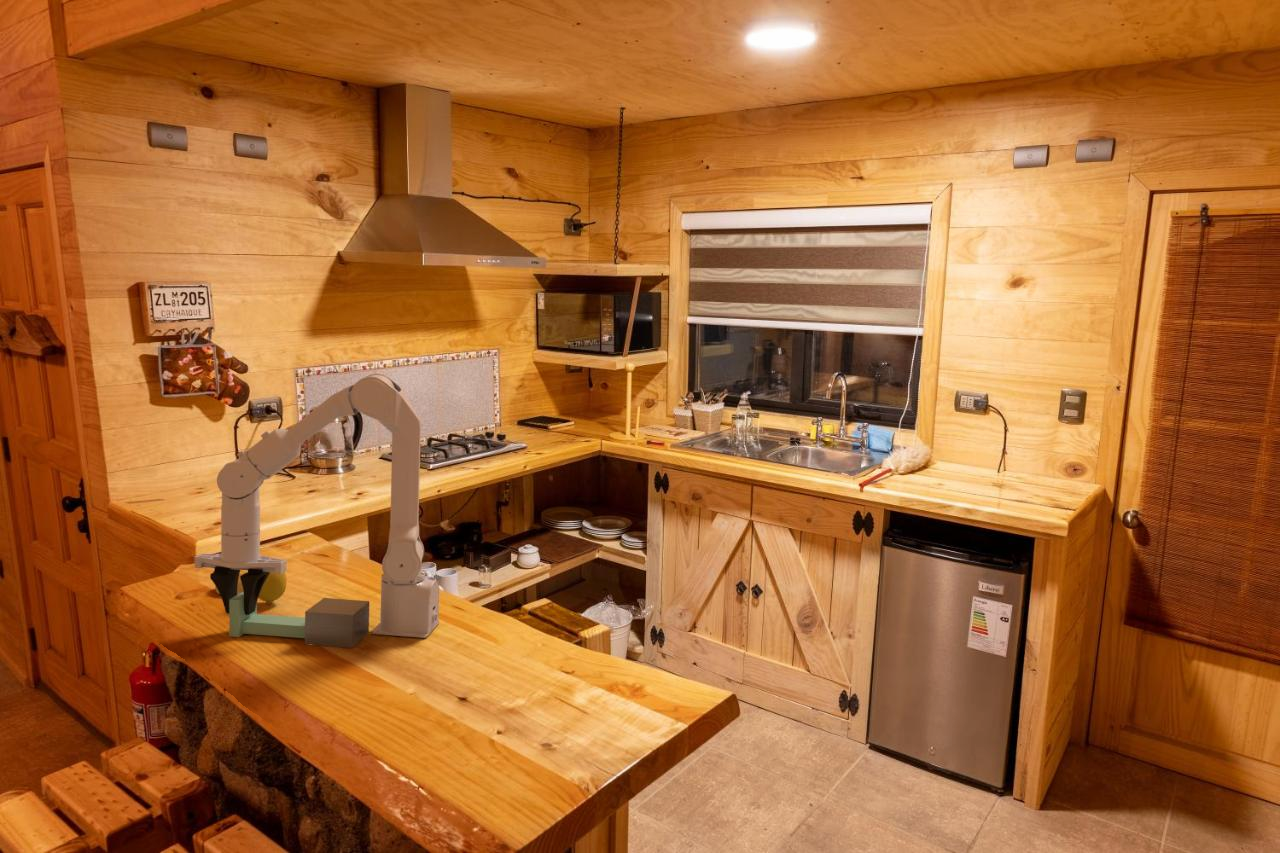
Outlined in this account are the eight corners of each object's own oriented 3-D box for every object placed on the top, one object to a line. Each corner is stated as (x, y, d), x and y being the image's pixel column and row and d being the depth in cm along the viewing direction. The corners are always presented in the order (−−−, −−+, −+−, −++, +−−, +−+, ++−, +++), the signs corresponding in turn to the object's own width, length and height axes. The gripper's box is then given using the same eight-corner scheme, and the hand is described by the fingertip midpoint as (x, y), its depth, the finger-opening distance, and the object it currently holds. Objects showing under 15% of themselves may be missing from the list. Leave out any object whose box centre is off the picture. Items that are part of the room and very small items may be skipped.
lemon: (292, 600, 151) (292, 558, 150) (276, 610, 146) (276, 566, 145) (263, 597, 152) (264, 556, 151) (246, 607, 146) (247, 564, 145)
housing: (368, 632, 138) (369, 601, 137) (352, 648, 131) (352, 615, 130) (323, 629, 138) (324, 597, 138) (304, 644, 131) (305, 611, 131)
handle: (320, 629, 137) (320, 594, 137) (305, 642, 132) (305, 605, 131) (241, 623, 138) (241, 588, 137) (223, 635, 133) (223, 599, 132)
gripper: (295, 529, 137) (294, 607, 139) (211, 523, 138) (211, 601, 139) (274, 539, 130) (274, 621, 132) (186, 533, 131) (186, 615, 132)
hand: (240, 612), depth 135 cm, fingers closed on handle, 3 cm apart
